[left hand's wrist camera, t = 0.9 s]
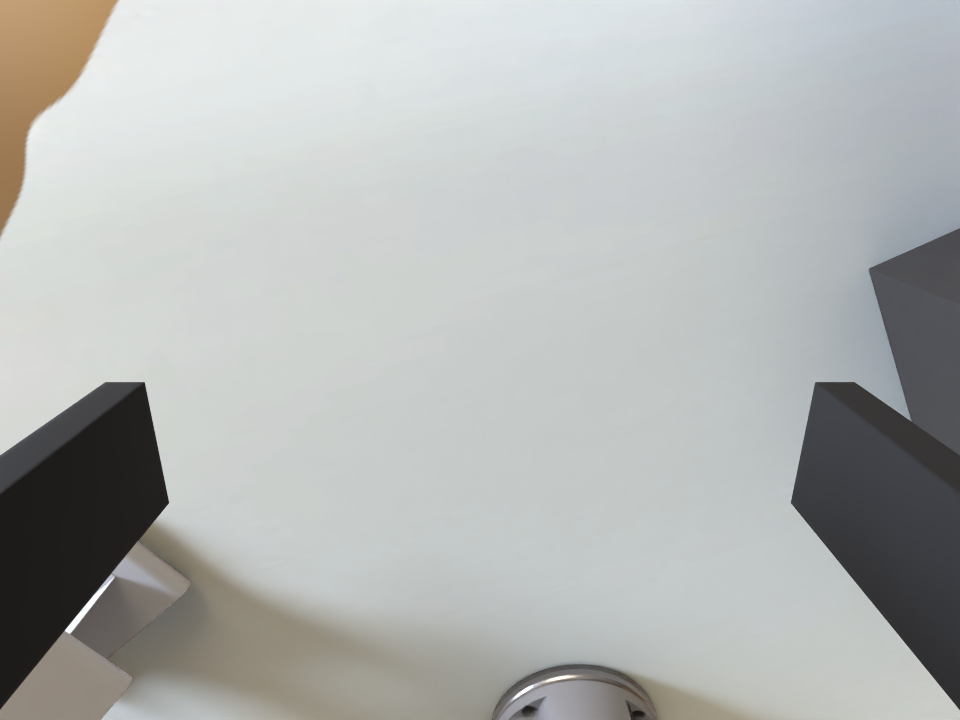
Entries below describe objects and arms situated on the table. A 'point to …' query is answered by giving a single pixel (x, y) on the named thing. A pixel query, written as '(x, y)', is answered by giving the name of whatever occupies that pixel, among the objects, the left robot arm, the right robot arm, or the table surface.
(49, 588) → the left robot arm
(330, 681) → the table surface
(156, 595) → the tablet stand
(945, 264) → the box
